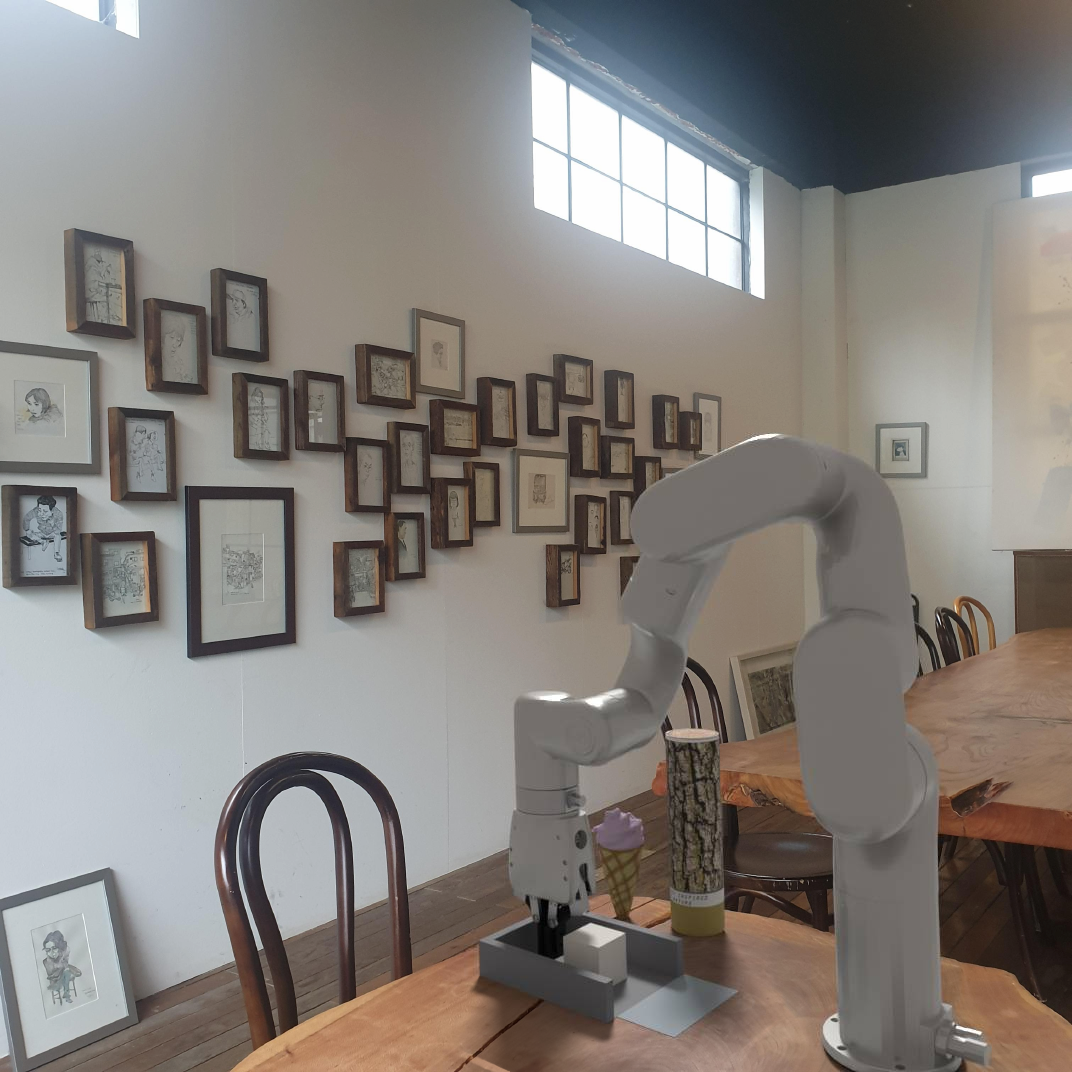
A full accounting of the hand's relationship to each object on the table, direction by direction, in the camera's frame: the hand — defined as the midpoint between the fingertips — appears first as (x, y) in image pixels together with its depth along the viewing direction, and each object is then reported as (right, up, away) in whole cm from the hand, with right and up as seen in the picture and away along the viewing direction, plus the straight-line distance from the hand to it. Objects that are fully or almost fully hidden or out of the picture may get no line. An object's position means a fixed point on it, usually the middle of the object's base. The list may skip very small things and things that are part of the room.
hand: (552, 956), depth 113 cm
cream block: (+5, -1, -4) cm, 6 cm away
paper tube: (+19, -1, +10) cm, 21 cm away
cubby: (+6, -1, -5) cm, 8 cm away
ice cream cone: (+9, -2, +15) cm, 17 cm away
